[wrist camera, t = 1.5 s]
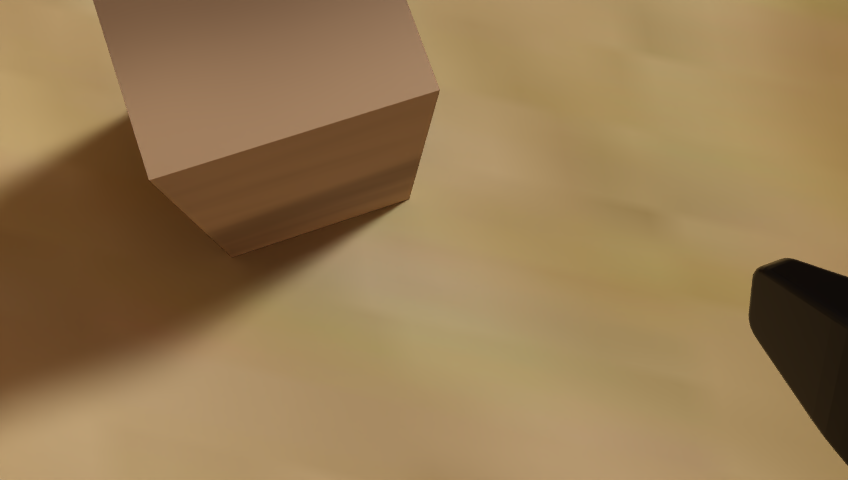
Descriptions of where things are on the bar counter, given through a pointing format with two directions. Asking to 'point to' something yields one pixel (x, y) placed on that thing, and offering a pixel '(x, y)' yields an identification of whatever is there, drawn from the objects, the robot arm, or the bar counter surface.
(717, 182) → the bar counter surface
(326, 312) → the bar counter surface
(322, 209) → the walnut block
